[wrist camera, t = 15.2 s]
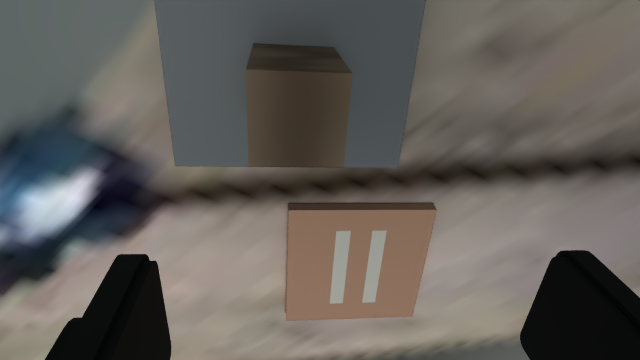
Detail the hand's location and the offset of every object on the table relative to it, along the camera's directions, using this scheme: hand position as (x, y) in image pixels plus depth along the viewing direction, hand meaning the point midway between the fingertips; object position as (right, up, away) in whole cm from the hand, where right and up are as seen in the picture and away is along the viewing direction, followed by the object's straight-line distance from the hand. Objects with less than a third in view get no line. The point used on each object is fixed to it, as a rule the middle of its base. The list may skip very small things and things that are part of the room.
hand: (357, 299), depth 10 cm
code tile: (+2, -4, +26) cm, 26 cm away
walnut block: (-3, +9, +16) cm, 19 cm away
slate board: (-3, +10, +18) cm, 20 cm away
